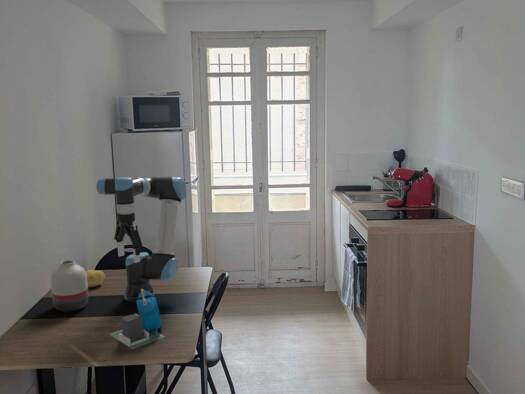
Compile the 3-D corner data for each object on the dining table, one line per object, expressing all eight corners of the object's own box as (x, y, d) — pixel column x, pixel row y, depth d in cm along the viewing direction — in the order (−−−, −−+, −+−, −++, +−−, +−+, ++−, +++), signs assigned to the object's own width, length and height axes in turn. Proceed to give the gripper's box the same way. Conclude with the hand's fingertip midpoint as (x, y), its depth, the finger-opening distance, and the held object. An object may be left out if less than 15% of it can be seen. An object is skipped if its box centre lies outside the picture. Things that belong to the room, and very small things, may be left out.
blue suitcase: (163, 338, 221) (161, 294, 217) (139, 341, 218) (136, 296, 215) (161, 322, 237) (159, 281, 233) (138, 325, 234) (135, 283, 231)
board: (108, 336, 223) (108, 333, 223) (141, 325, 234) (141, 322, 234) (132, 351, 209) (132, 348, 209) (165, 339, 220) (165, 336, 220)
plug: (123, 340, 216) (121, 317, 215) (137, 335, 221) (135, 312, 219) (129, 344, 213) (127, 320, 211) (143, 338, 218) (142, 315, 216)
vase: (65, 300, 267) (61, 256, 262) (95, 301, 263) (92, 257, 259) (46, 312, 250) (41, 266, 246) (77, 315, 247) (74, 267, 243)
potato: (79, 284, 289) (78, 268, 288) (106, 282, 292) (105, 266, 290) (76, 291, 280) (74, 274, 278) (103, 289, 282) (102, 272, 280)
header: (119, 340, 217) (118, 332, 216) (139, 333, 223) (139, 325, 223) (128, 346, 211) (128, 338, 210) (149, 339, 218) (149, 331, 217)
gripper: (104, 210, 232) (107, 255, 236) (133, 218, 214) (136, 266, 218) (119, 207, 237) (122, 251, 241) (148, 215, 220) (151, 262, 224)
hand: (129, 258), depth 230 cm, fingers open, 13 cm apart
